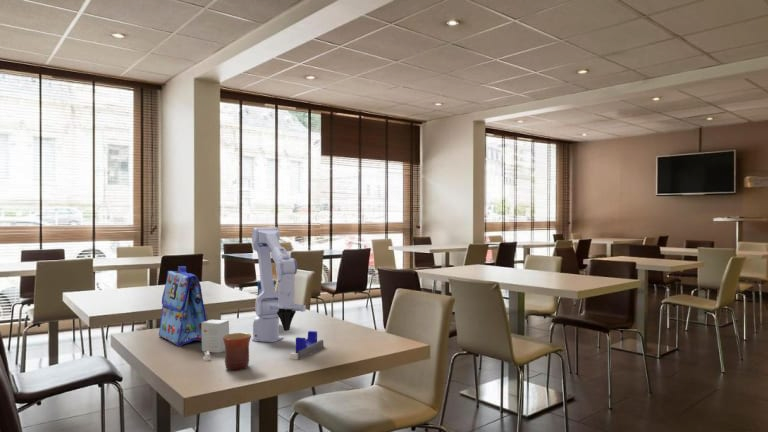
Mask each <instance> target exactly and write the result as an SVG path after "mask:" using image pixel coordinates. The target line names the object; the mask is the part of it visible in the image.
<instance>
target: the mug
mask: <svg viewBox="0 0 768 432" xmlns="http://www.w3.org/2000/svg"><path fill="white" fill-rule="evenodd" d="M251 339H252V334H250V333H245V332H236V333H235V332H234V333H229V334H228V335H225V336H223V341H224V344H225V351H224V365H225V369H226V370H229V371H231V372H237V371H242V370H243V371H244V370H246V369H247V368H248V367H249V363H250V342H251V341H250V340H251Z"/></svg>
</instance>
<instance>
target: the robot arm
mask: <svg viewBox="0 0 768 432" xmlns="http://www.w3.org/2000/svg"><path fill="white" fill-rule="evenodd" d="M280 235H281V233H280V230H279V228H278V227H277V226H275V227H254V228H253V229H252V232H251V243H252V244H251V245H252V249H253V251H256V253H257V258H258V260H257V261H258V269H259V279H260V280H261V289H262V293H261V294H260V295H258V294H257V296H256V298H255V305H254V310H255V315H256V317H255V318H254V319H253V322H252V323H253V324H252V332H253V333H252V335H253V336H252V338H251V341H253V342H264V343H275V342H277V341H280V340H281V339H284V336H280V330H279V329H280V326H279V325H280V322H281V326H282V329H283V331H284V332H287V331H290V328H291V324H292V320H293V319H294V316H295V314H296V313H297V312H301V313H303V312H306V310H307V309H306V307H307V306H306V305H304V304H297V303H296V302H295V276H296V275H297V272H298V264H297V263H298V262H297V259H296V258H293V257H290V254H289V253H288V251H287V249H286V248H285V247H284V246H281V245H282V244H281V243H280V237H281V236H280ZM272 260H273V261H274V263H275V272H276V279H277V283H278V287H277V289H278V292H277V291H274V284H273V279H274V276H273V266H272ZM271 299H273V300H271ZM261 300H264V301H261Z"/></svg>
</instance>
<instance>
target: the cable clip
mask: <svg viewBox="0 0 768 432" xmlns="http://www.w3.org/2000/svg"><path fill="white" fill-rule="evenodd" d="M317 341H318V331H315V330H309V331H307V338H306V337H298V336H297V337H295V353H298V351H300V350H302V349H304V348H306V347H308V346H309V345H311V344H313V343H315V342H317Z"/></svg>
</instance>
